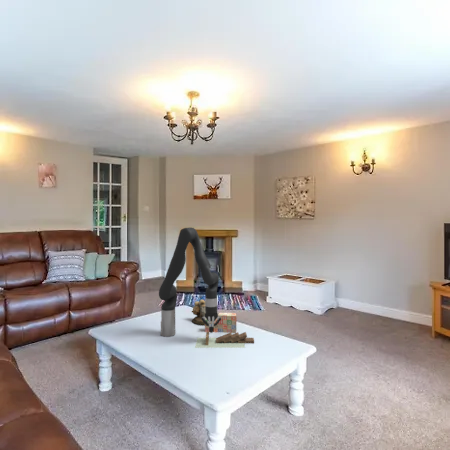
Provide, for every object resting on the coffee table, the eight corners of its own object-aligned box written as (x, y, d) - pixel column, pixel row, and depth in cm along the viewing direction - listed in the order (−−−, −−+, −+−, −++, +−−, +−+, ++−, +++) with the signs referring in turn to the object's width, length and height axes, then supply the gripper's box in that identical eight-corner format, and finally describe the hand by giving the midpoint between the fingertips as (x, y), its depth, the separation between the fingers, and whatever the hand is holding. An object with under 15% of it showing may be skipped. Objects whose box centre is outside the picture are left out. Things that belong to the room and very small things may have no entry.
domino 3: (223, 340, 201) (238, 335, 201) (223, 337, 206) (238, 332, 206) (224, 343, 201) (239, 337, 201) (224, 340, 206) (239, 334, 206)
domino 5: (237, 340, 201) (254, 340, 201) (237, 337, 206) (253, 337, 206) (238, 343, 201) (254, 343, 201) (237, 340, 206) (253, 340, 206)
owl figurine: (187, 322, 244) (186, 299, 243) (198, 318, 253) (197, 296, 253) (204, 327, 232) (204, 303, 232) (215, 322, 242) (215, 300, 241)
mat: (195, 348, 195) (195, 347, 195) (197, 338, 211) (197, 337, 211) (245, 348, 195) (245, 347, 195) (243, 338, 211) (243, 337, 211)
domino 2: (215, 341, 201) (231, 335, 201) (216, 337, 206) (230, 332, 206) (216, 343, 201) (231, 337, 201) (217, 340, 206) (231, 334, 206)
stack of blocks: (204, 332, 221) (204, 314, 221) (206, 329, 227) (206, 312, 227) (236, 333, 219) (236, 315, 219) (236, 330, 225) (236, 312, 225)
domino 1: (205, 337, 198) (206, 331, 208) (205, 345, 198) (206, 339, 208) (208, 337, 198) (209, 331, 208) (208, 345, 198) (209, 339, 208)
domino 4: (231, 340, 201) (246, 334, 201) (230, 337, 206) (245, 331, 206) (232, 343, 201) (247, 337, 201) (231, 340, 206) (246, 334, 206)
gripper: (200, 306, 199) (200, 334, 200) (221, 306, 199) (221, 334, 200) (201, 303, 207) (201, 330, 207) (221, 303, 207) (222, 330, 207)
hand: (211, 332), depth 203 cm, fingers closed
